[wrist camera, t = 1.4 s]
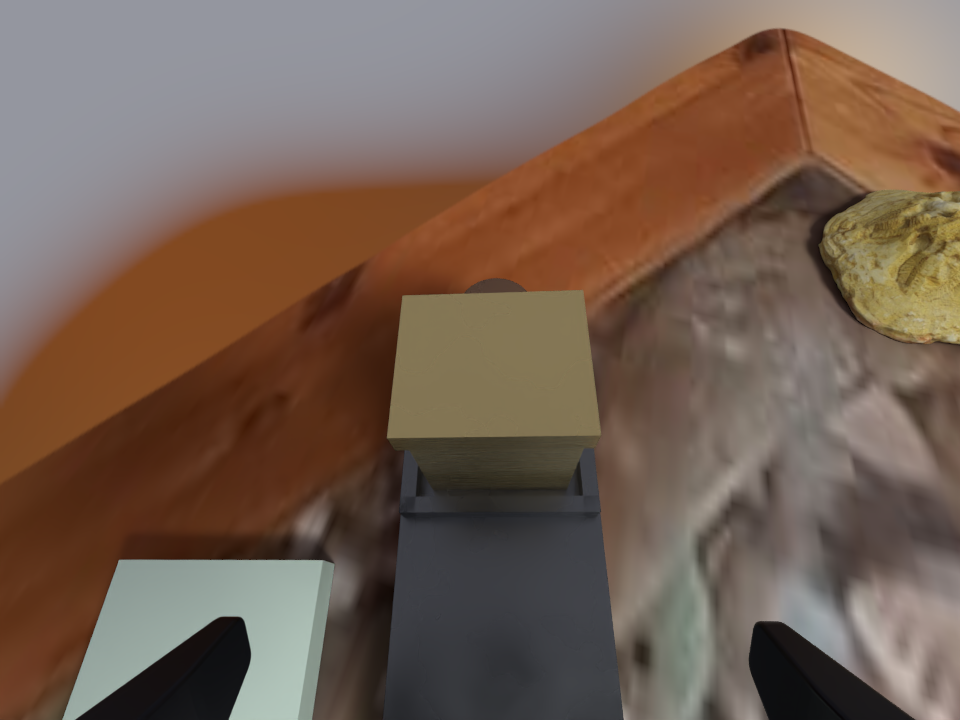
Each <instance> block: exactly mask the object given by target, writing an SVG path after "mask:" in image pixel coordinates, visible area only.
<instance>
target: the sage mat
mask: <svg viewBox="0 0 960 720" xmlns="http://www.w3.org/2000/svg"><path fill="white" fill-rule="evenodd" d="M334 565H335V564H333V563H330V562H327V561H324V560H119V562H118V565H117V568H116V570H115V573H114V576H113V579H112V582H111V584H110V587H109V590H108V593H107V596H106V598H105V601H104V604H103V607H102V610H101V613H100V615H99V618H98V621H97V624H96V627H95V629H94V632H93V635H92V638H91V641H90V644H89V646H88V649H87V652H86V655H85V658H84V660H83V663H82V666H81V669H80V672H79V675H78V677H77V680H76V683H75V686H74V689H73V691H72V694H71V697H70V700H69V703H68V706H67V708H66V711H65V714H64V717H63V720H75V719H77V718H78V717H79V716H81V715H82V714H84V713H85V712H86V711H88V710H89V709H91V708H92V707H93V706H95V705H96V704H97V703H99V702H100V701H102V700H103V699H104V698H106V697H107V696H109V695H110V694H111V693H113V692H114V691H116V690H117V689H118V688H120V687H121V686H123V685H124V684H125V683H127V682H128V681H130V680H131V679H132V678H134V677H135V676H137V675H138V674H139V673H141V672H142V671H144V670H145V669H146V668H148V667H149V666H150V665H152V664H153V663H155V662H156V661H157V660H159V659H160V658H162V657H163V656H164V655H166V654H167V653H169V652H170V651H171V650H173V649H174V648H176V647H177V646H178V645H180V644H181V643H183V642H184V641H185V640H187V639H188V638H190V637H191V636H192V635H194V634H195V633H197V632H198V631H199V630H201V629H202V628H203V627H205V626H206V625H208V624H209V623H210V622H212V621H213V620H215V619H216V618H218V617H222V616H238V617H242V618H243V620H244V621H245V625H246V629H247V634H248V639H249V643H250V648H251V661H250V666H249V669H248V671H247V674H246V676H245V679H244V682H243V684H242V687H241V689H240V692H239V694H238V697H237V700H236V702H235V705H234V707H233V710H232V713H231V715H230V718H229V720H312V715H313V708H314V702H315V695H316V688H317V681H318V674H319V667H320V661H321V654H322V647H323V640H324V633H325V627H326V620H327V613H328V606H329V599H330V593H331V586H332V579H333V572H334Z"/></svg>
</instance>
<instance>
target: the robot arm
mask: <svg viewBox="0 0 960 720" xmlns="http://www.w3.org/2000/svg"><path fill="white" fill-rule="evenodd" d="M250 661H251V648H250V643H249V639H248V634H247V629H246V625H245V621H244V620H243V618H242V617H238V616H222V617H218V618H216V619H215V620H213V621H212V622H210V623H209V624H208V625H206V626H205V627H203V628H202V629H201V630H199V631H198V632H197V633H195V634H194V635H192V636H191V637H190V638H188V639H187V640H185V641H184V642H183V643H181V644H180V645H178V646H177V647H176V648H174V649H173V650H171V651H170V652H169V653H167V654H166V655H164V656H163V657H162V658H160V659H159V660H157V661H156V662H155V663H153V664H152V665H150V666H149V667H148V668H146V669H145V670H144V671H142V672H141V673H139V674H138V675H137V676H135V677H134V678H132V679H131V680H130V681H128V682H127V683H125V684H124V685H123V686H121V687H120V688H118V689H117V690H116V691H114V692H113V693H111V694H110V695H109V696H107V697H106V698H104V699H103V700H102V701H100V702H99V703H97V704H96V705H95V706H93V707H92V708H91V709H89V710H88V711H86V712H85V713H84V714H82V715H81V716H79V717H78V718H77V719H75V720H229V718H230V715H231V713H232V710H233V707H234V705H235V702H236V700H237V697H238V694H239V692H240V689H241V687H242V684H243V682H244V679H245V676H246V674H247V671H248V669H249V666H250ZM749 667H750V671H751V675H752V677H753V680H754V683H755V685H756V688H757V690H758V693H759V696H760V698H761V701H762V703H763V706H764V708H765V711H766V714H767V716H768V719H769V720H915V719H914V718H912V717H911V716H909V715H908V714H907V713H905V712H904V711H903V710H901V709H900V708H899V707H897V706H896V705H895V704H893V703H892V702H890V701H889V700H888V699H886V698H885V697H884V696H882V695H881V694H880V693H878V692H877V691H876V690H874V689H873V688H871V687H870V686H869V685H867V684H866V683H865V682H863V681H862V680H861V679H859V678H858V677H857V676H855V675H854V674H852V673H851V672H850V671H848V670H847V669H846V668H844V667H843V666H842V665H840V664H839V663H838V662H836V661H835V660H833V659H832V658H831V657H829V656H828V655H827V654H825V653H824V652H823V651H821V650H820V649H819V648H817V647H816V646H814V645H813V644H812V643H810V642H809V641H808V640H806V639H805V638H804V637H802V636H801V635H800V634H798V633H797V632H795V631H794V630H793V629H791V628H790V627H789V626H787V625H786V624H784V623H782V622H778V621H759V622H757V623H756V624H755V625H754V628H753V634H752V640H751V647H750V653H749Z"/></svg>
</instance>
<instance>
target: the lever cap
mask: <svg viewBox="0 0 960 720" xmlns="http://www.w3.org/2000/svg"><path fill="white" fill-rule="evenodd" d="M600 437H601V430H600V422H599V414H598V406H597V398H596V390H595V382H594V374H593V366H592V358H591V350H590V342H589V334H588V325H587V317H586V309H585V301H584V293H583V290H572V291H539V292H506V293H472V294H439V295H406V296H402V305H401V314H400V323H399V332H398V342H397V351H396V360H395V369H394V378H393V387H392V396H391V405H390V414H389V423H388V433H387V439H388V441H389V442H390V444H391V445H392V446H393V448H394V449H395V450H409V451H410V452H411V454H412V456H413V457H414V459H415V461H416V462H417V464H418V466H419V467H420V469H421V471H422V472H423V474H424V476H425V478H426V479H427V481H428V483H429V484H430V486H431V488H432V489H433V490H567V488H568V486H569V483H570V481H571V478H572V476H573V474H574V471H575V469H576V466H577V464H578V462H579V459H580V457H581V454H582V452H583V449H584V448H595V447H596V445H597V443H598V441H599V439H600Z"/></svg>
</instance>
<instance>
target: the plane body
mask: <svg viewBox="0 0 960 720" xmlns="http://www.w3.org/2000/svg"><path fill="white" fill-rule="evenodd" d="M506 292H527V291H526V290H525V289H524V288H523V287H522V286H520V285H519V284H517V283H515V282H513V281H510V280H506V279H498V278H494V279H487V280H483V281H480V282H478V283H476V284H474V285H473V286H471V287H470V288H469V289H468V290H466V292H465V293H464V294H472V293H506ZM600 512H601V509H600V500H599V491H598V482H597V474H596V465H595V456H594V448H584V449H583V452H582V454H581V457H580V459H579V462H578V464H577V466H576V469H575V471H574V474H573V476H572V478H571V481H570V483H569V486H568V488H567V490H433V489H432V488H431V486H430V484H429V483H428V481H427V479H426V478H425V476H424V474H423V472H422V471H421V469H420V467H419V466H418V464H417V462H416V461H415V459H414V457H413V456H412V454H411V452H410V451H409V450H405V451H404V463H403V474H402V485H401V496H400V507H399V513H400V514H401V518H400V530H399V541H398V553H397V564H396V576H395V587H394V598H393V610H392V621H391V633H390V644H389V656H388V667H387V679H386V690H385V701H384V713H383V720H624V719H623V710H622V701H621V693H620V684H619V675H618V666H617V657H616V649H615V640H614V631H613V622H612V614H611V605H610V596H609V587H608V578H607V570H606V561H605V552H604V543H603V534H602V526H601V517H600Z"/></svg>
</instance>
